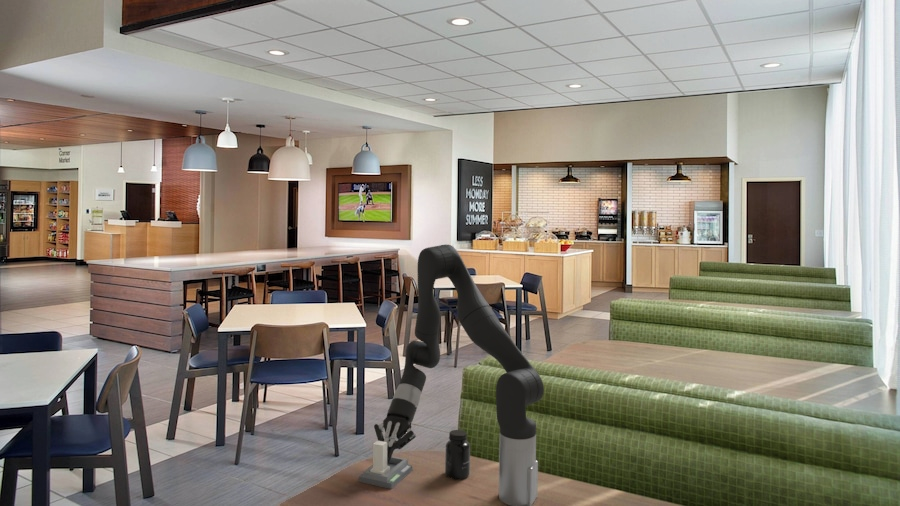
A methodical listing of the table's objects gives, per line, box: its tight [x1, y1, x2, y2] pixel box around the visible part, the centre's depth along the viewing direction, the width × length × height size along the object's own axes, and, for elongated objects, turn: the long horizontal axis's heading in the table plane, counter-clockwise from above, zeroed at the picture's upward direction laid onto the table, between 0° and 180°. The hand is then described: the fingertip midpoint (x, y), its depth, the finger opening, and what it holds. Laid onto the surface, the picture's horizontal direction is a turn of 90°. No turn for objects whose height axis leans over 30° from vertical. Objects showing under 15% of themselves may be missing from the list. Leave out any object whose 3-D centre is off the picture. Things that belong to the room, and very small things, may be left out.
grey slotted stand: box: [358, 455, 413, 490], centre depth 168 cm, size 10×12×3 cm
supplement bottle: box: [444, 429, 471, 480], centre depth 168 cm, size 7×7×12 cm
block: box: [370, 440, 390, 475], centre depth 164 cm, size 4×4×9 cm
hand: (383, 461), depth 166 cm, fingers closed
